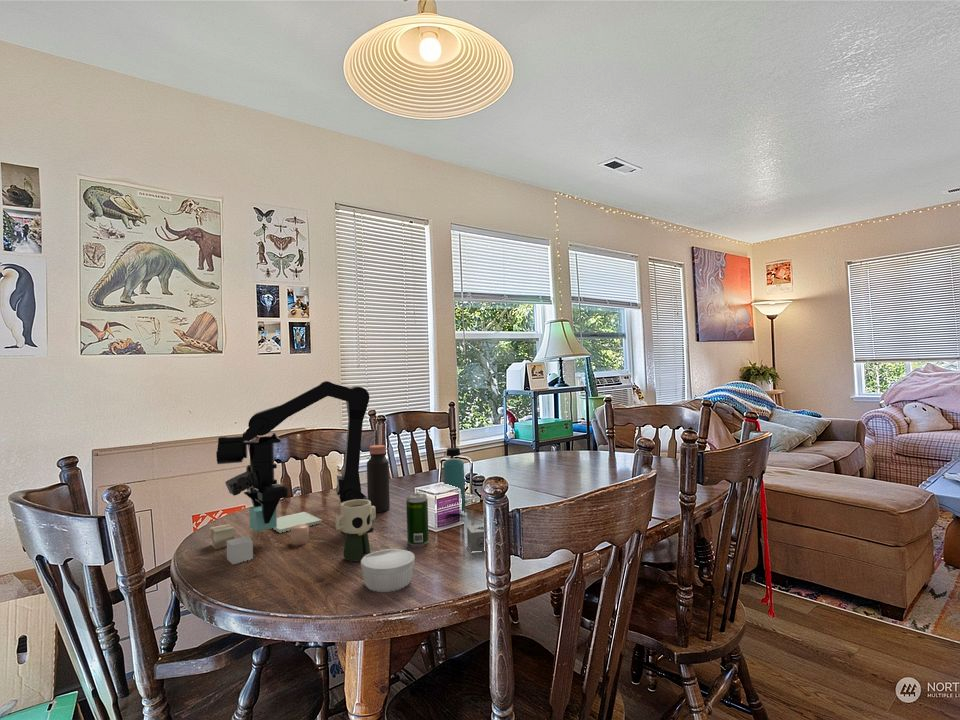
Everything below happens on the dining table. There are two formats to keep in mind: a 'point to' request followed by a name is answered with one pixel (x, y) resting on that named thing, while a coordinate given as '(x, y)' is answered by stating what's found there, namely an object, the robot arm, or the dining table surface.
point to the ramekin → (388, 569)
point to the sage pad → (295, 521)
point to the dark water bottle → (378, 478)
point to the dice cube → (475, 538)
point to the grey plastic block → (239, 550)
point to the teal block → (261, 519)
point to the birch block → (221, 535)
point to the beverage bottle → (455, 472)
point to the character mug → (356, 527)
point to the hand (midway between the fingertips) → (263, 521)
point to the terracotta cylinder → (299, 534)
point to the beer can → (417, 519)
